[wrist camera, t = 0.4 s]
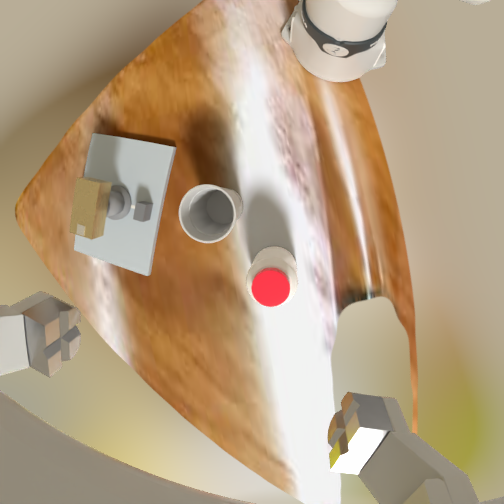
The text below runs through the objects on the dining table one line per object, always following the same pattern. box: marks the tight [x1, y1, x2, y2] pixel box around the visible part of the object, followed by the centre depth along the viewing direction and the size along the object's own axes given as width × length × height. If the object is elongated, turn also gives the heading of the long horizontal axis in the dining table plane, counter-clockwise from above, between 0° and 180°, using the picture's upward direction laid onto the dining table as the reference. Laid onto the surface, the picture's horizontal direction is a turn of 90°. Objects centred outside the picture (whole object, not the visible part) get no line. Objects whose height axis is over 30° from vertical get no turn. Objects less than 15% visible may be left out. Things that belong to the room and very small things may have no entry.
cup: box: [179, 184, 243, 243], centre depth 48 cm, size 8×8×12 cm
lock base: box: [74, 133, 176, 276], centre depth 52 cm, size 24×18×7 cm
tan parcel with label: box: [70, 177, 112, 240], centre depth 47 cm, size 9×5×5 cm, turn 165°
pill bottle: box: [246, 246, 298, 307], centre depth 50 cm, size 8×8×11 cm
